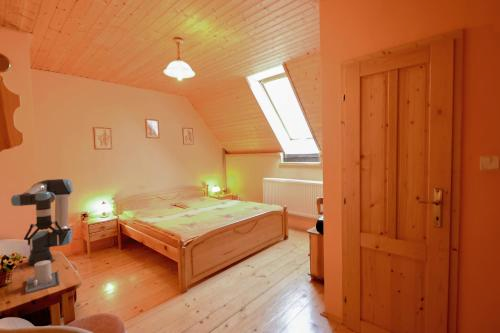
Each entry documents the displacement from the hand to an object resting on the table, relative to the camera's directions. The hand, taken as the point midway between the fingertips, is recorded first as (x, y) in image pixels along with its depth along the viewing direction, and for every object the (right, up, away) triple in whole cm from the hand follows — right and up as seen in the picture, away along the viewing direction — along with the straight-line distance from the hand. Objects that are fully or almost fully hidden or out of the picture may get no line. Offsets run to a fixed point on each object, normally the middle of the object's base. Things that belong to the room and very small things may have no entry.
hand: (45, 247), depth 162 cm
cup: (+1, -22, -3) cm, 22 cm away
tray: (+1, -22, -3) cm, 23 cm away
